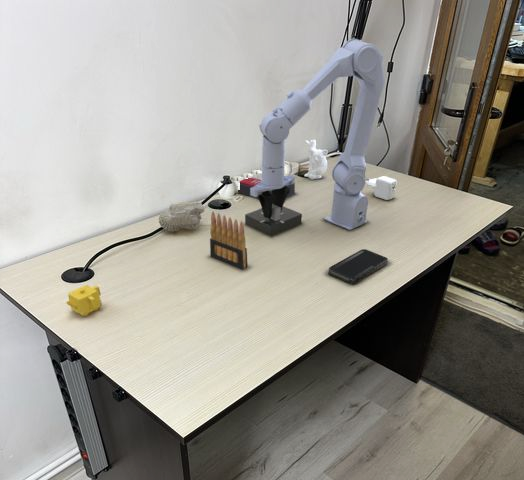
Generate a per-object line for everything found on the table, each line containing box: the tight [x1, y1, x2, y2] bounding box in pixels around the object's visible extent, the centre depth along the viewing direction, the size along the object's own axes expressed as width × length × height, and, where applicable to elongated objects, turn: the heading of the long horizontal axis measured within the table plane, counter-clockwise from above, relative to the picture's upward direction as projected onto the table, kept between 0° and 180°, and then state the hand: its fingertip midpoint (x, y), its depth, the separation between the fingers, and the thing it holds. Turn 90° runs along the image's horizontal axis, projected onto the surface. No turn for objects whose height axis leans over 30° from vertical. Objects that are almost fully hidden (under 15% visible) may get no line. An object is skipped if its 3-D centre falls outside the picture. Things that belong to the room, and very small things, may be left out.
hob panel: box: [244, 205, 303, 238], centre depth 139 cm, size 11×12×3 cm
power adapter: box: [365, 175, 398, 201], centre depth 156 cm, size 11×5×6 cm, turn 44°
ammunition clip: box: [209, 210, 249, 271], centre depth 119 cm, size 11×2×12 cm, turn 52°
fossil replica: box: [158, 201, 205, 233], centre depth 135 cm, size 12×8×10 cm
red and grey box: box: [237, 173, 296, 199], centre depth 157 cm, size 11×4×15 cm
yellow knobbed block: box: [65, 284, 102, 317], centre depth 104 cm, size 8×6×5 cm
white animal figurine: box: [304, 139, 329, 180], centre depth 166 cm, size 8×7×12 cm
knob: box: [270, 205, 281, 221], centre depth 135 cm, size 5×2×4 cm, turn 44°
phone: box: [327, 248, 389, 285], centre depth 120 cm, size 8×1×15 cm
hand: (272, 215), depth 136 cm, fingers open, 3 cm apart
